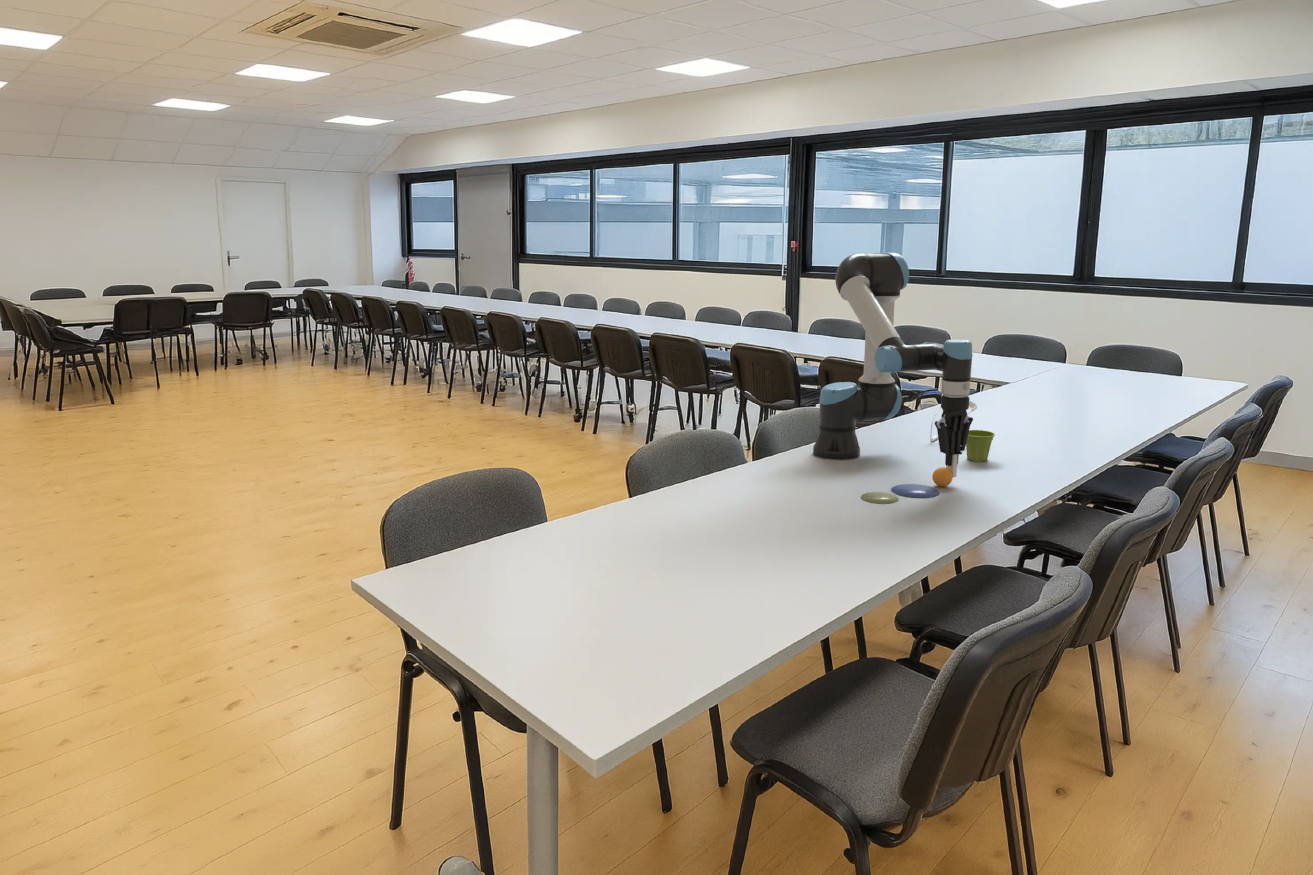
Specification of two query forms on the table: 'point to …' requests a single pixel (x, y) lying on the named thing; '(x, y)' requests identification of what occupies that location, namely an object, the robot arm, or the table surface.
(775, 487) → the table surface
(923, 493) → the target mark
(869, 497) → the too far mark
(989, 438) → the plant pot
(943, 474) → the ball
